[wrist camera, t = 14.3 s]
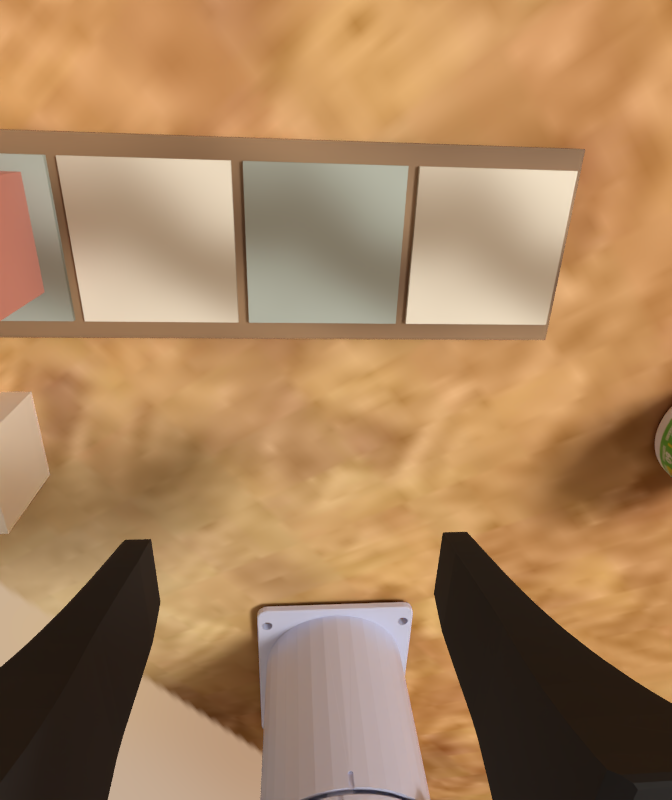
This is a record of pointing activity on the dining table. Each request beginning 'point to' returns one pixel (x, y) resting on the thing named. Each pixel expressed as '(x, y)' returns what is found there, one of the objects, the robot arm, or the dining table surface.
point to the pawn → (16, 248)
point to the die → (19, 457)
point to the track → (290, 237)
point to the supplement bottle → (665, 442)
